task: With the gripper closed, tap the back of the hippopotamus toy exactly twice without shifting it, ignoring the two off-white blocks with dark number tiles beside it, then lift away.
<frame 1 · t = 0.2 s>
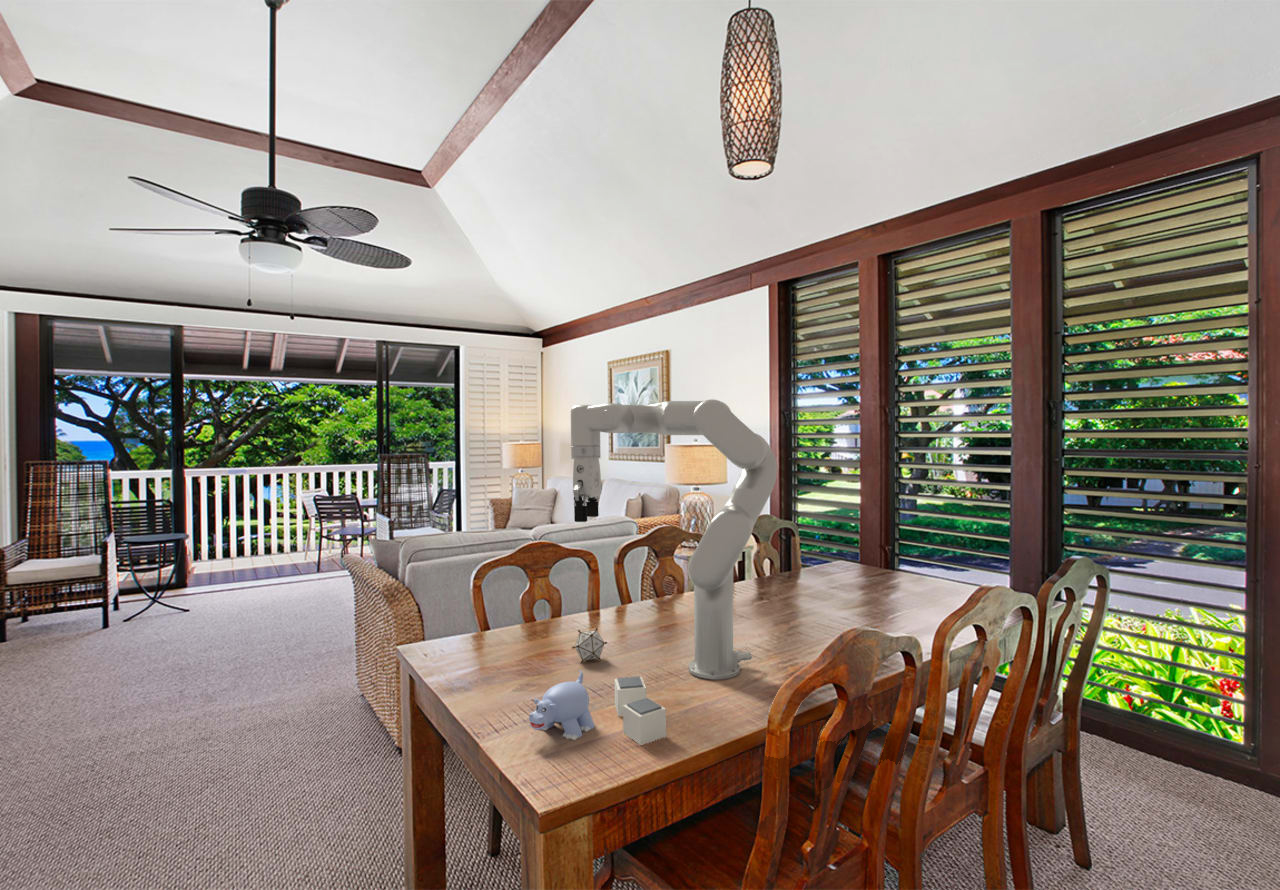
hand: (586, 519, 161), 37 cm above the table, tool pointing down, fingers open, 9 cm apart
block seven: (644, 735, 121), on the table
game die: (589, 661, 162), on the table
block three: (630, 709, 133), on the table
hippopotamus toy: (560, 731, 124), on the table
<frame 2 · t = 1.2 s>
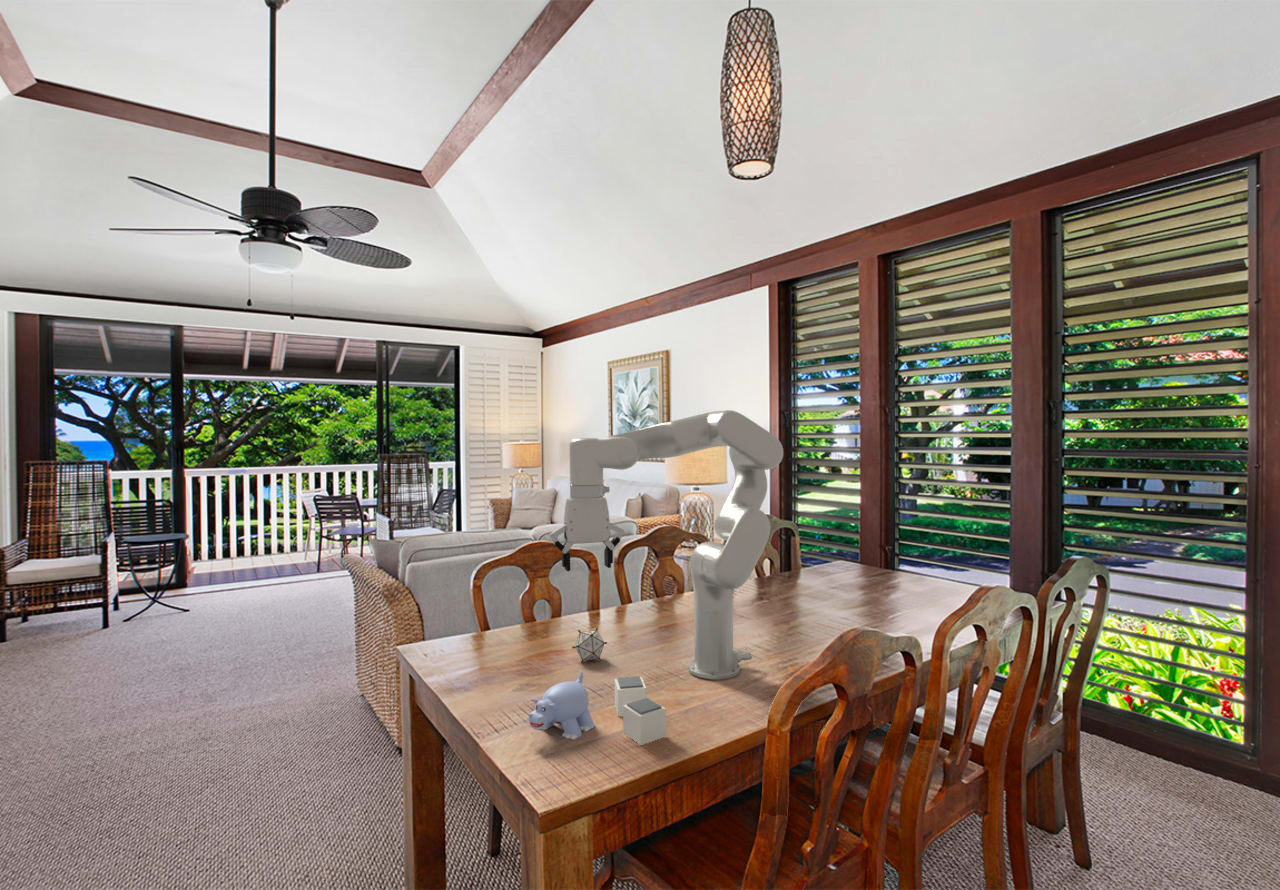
hand: (587, 568, 141), 28 cm above the table, tool pointing down, fingers open, 9 cm apart
nothing on the table moved.
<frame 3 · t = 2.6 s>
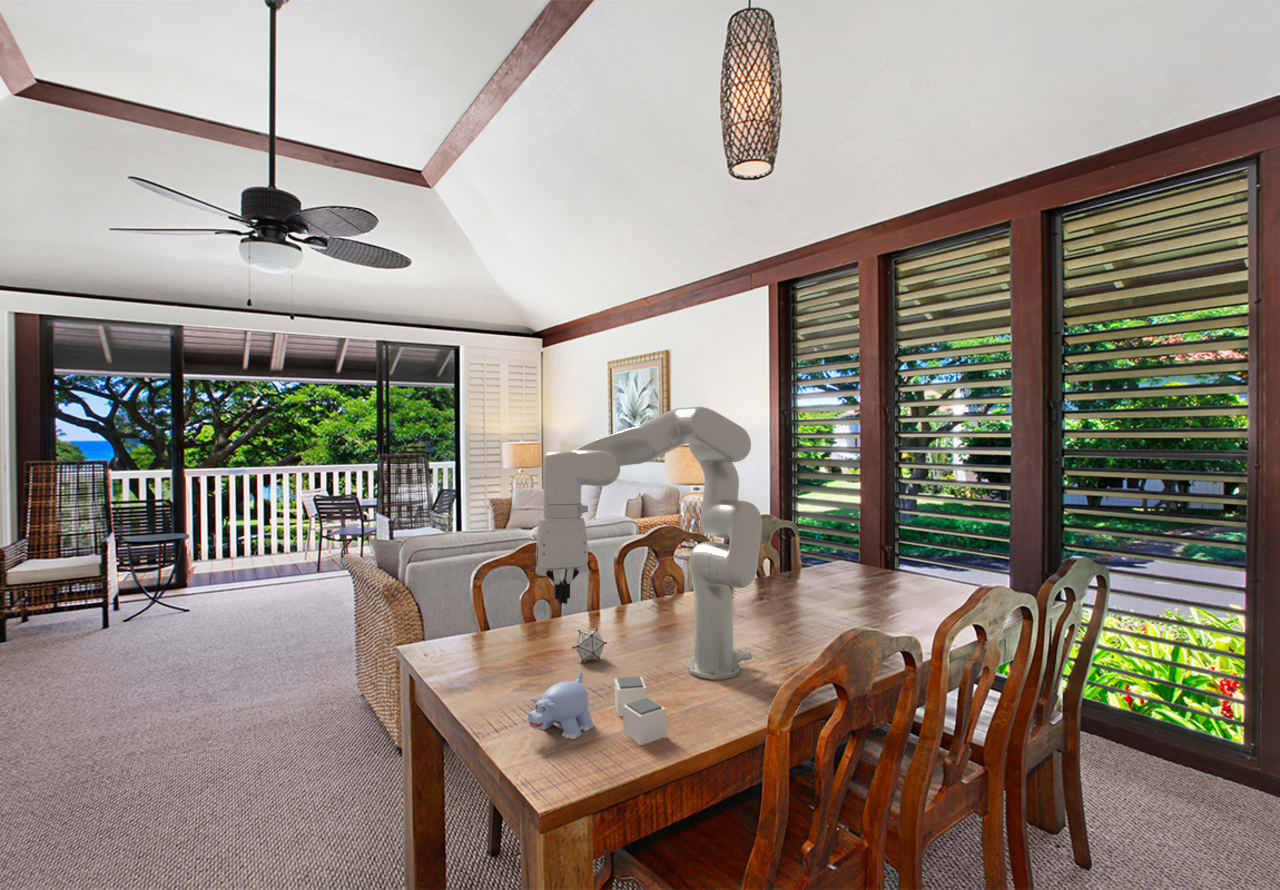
hand: (562, 602, 126), 25 cm above the table, tool pointing down, fingers closed
nothing on the table moved.
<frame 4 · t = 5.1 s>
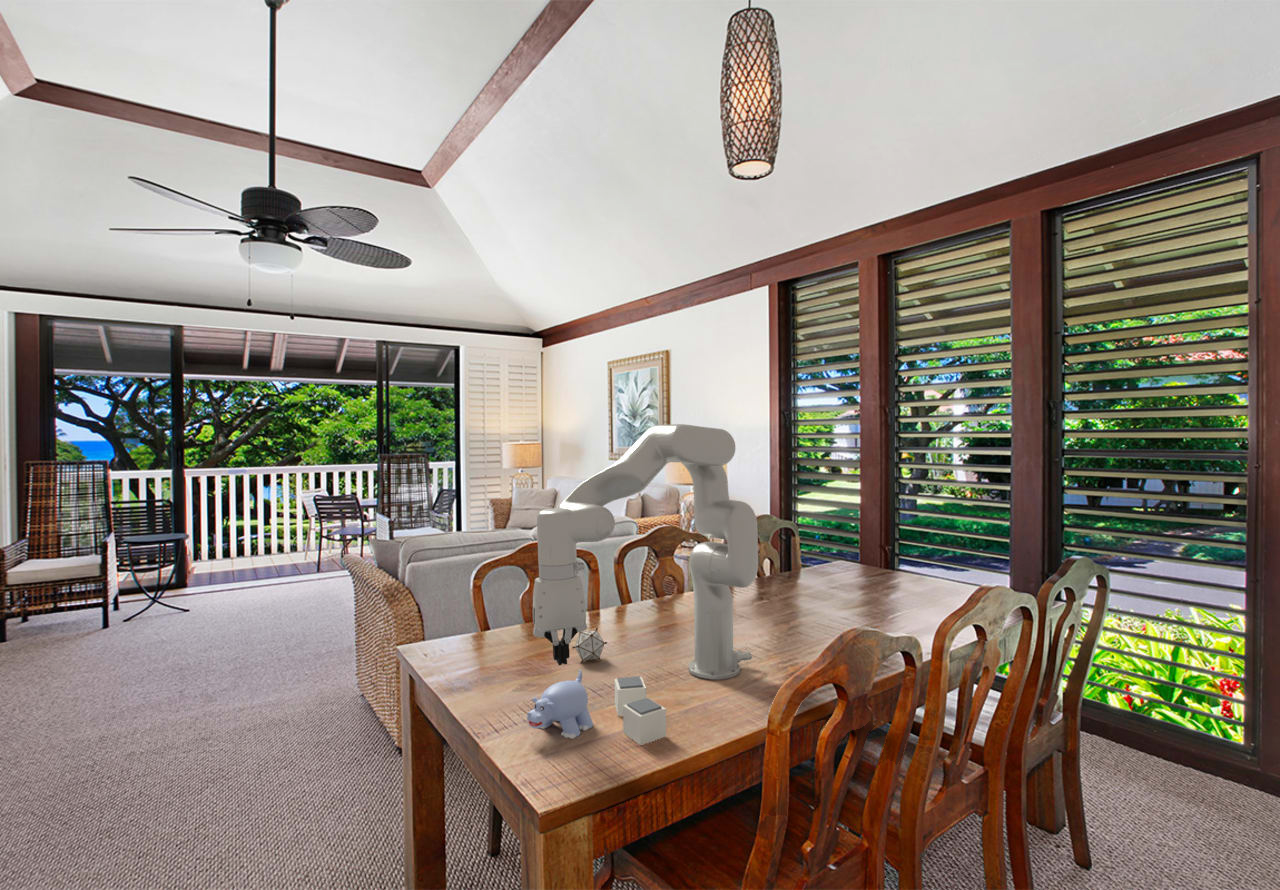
hand: (561, 662, 124), 13 cm above the table, tool pointing down, fingers closed
nothing on the table moved.
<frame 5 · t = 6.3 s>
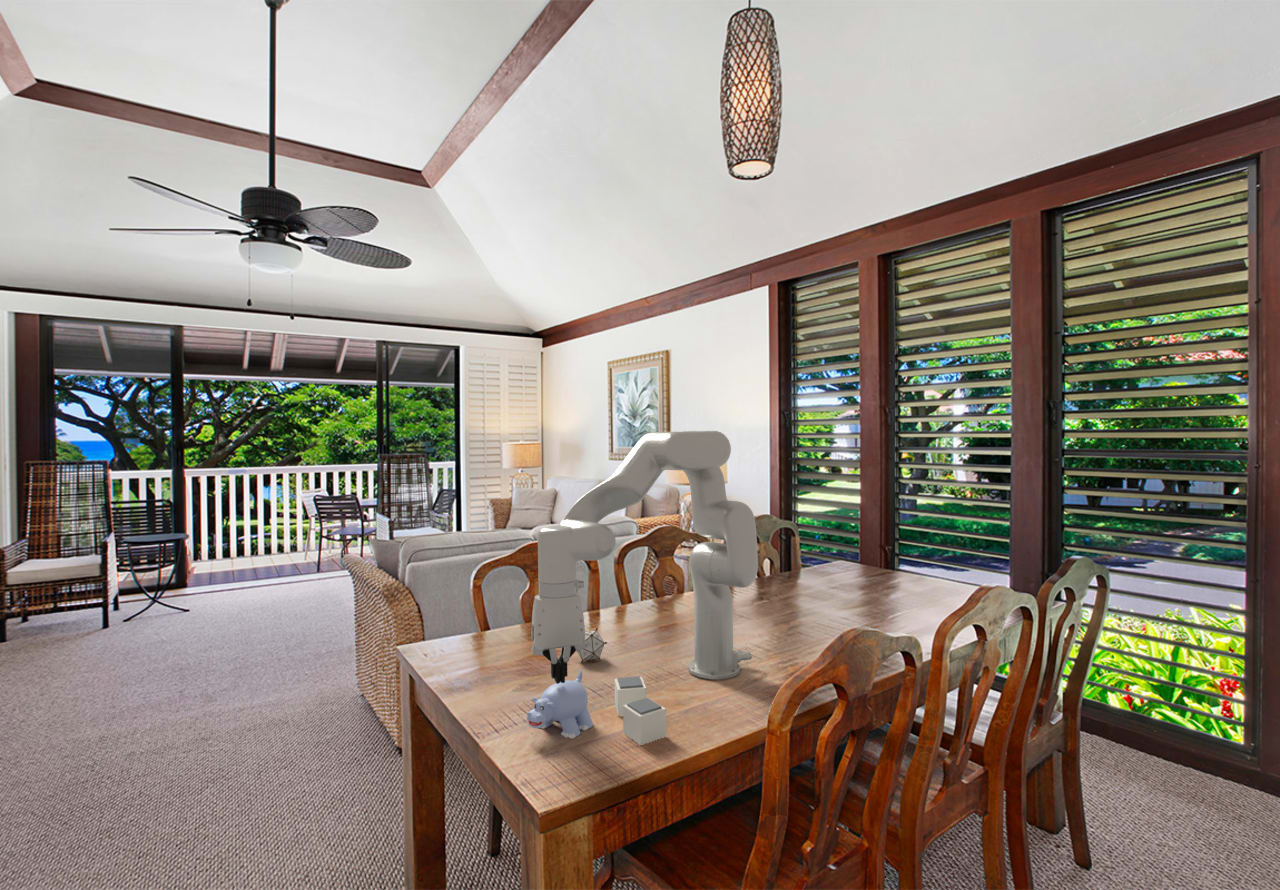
hand: (559, 680, 124), 10 cm above the table, tool pointing down, fingers closed
nothing on the table moved.
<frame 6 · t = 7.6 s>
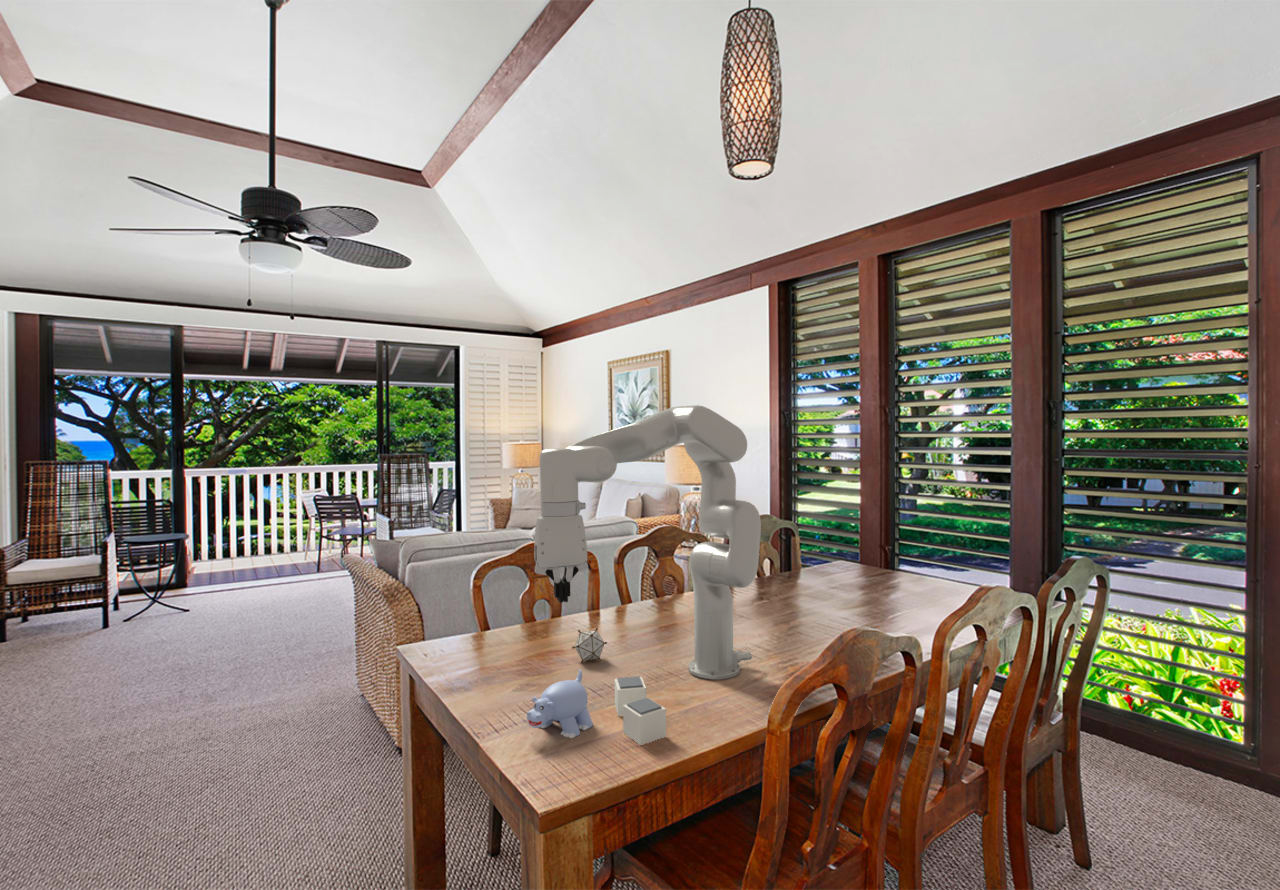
hand: (562, 600, 125), 25 cm above the table, tool pointing down, fingers closed
nothing on the table moved.
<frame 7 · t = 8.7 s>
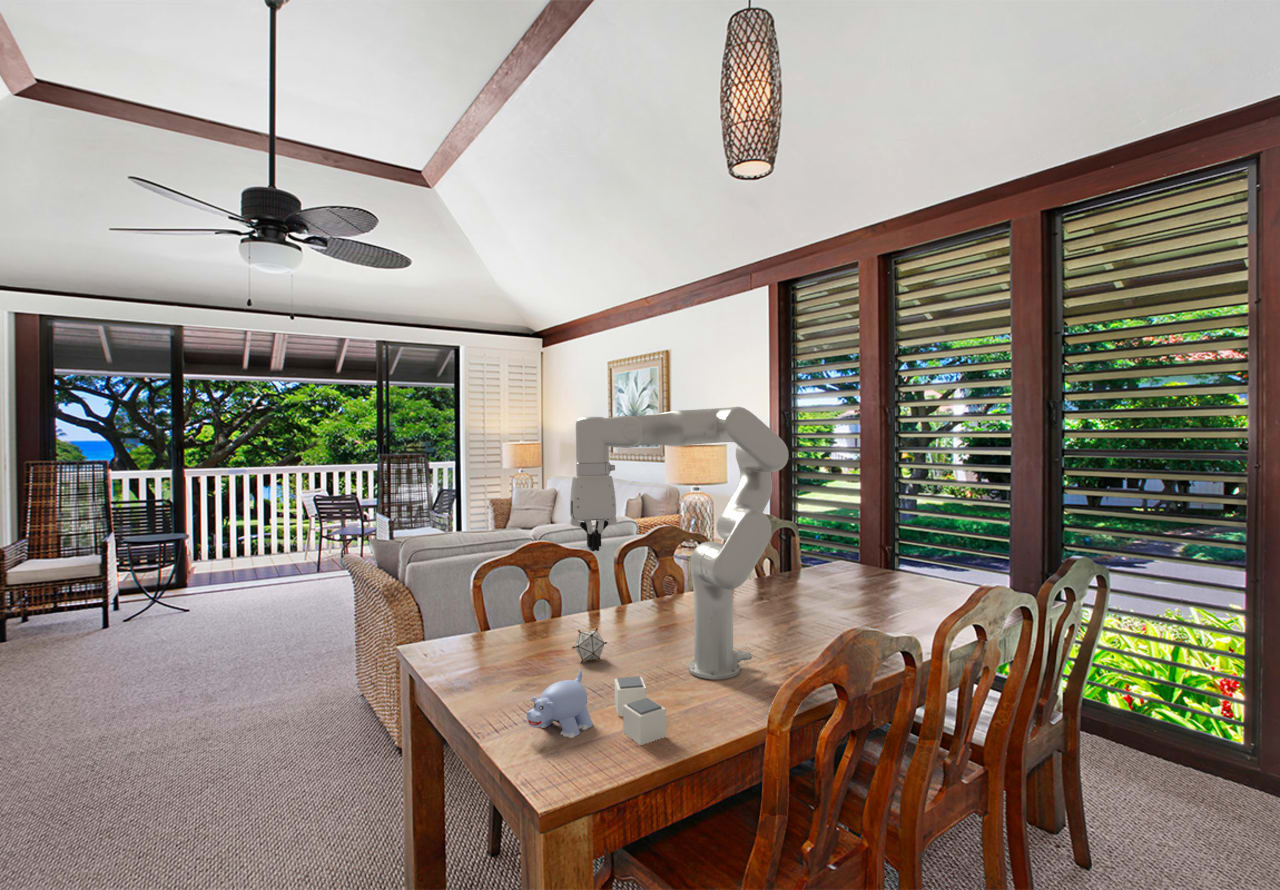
hand: (594, 550, 143), 32 cm above the table, tool pointing down, fingers closed
nothing on the table moved.
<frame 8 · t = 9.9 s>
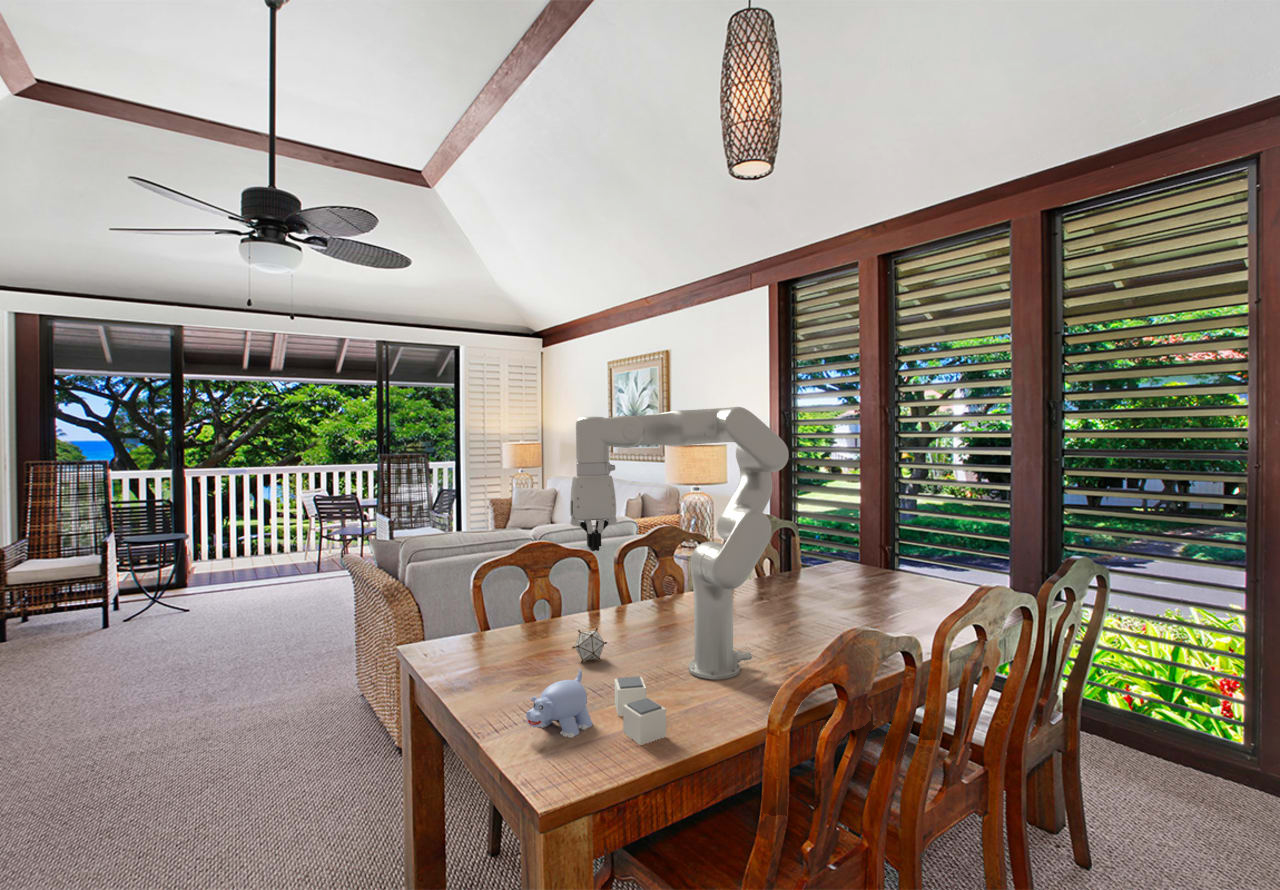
hand: (594, 549, 143), 32 cm above the table, tool pointing down, fingers closed
at the end: hippopotamus toy moved 1.2 cm from its start; hippopotamus toy tilted 0°; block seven moved 0.1 cm from its start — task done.
